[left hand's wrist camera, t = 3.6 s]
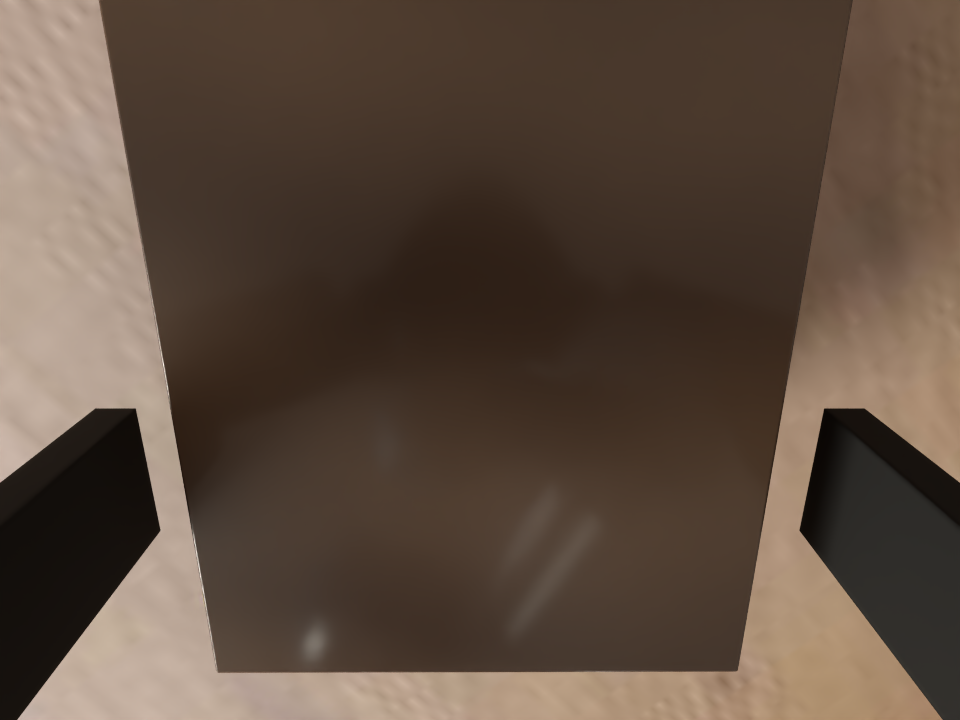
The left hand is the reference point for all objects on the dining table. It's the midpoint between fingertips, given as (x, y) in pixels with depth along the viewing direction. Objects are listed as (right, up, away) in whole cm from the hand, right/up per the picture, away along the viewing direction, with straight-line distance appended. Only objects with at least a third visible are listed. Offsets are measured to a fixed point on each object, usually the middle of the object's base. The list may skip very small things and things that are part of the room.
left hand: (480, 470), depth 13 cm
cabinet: (0, +7, +6) cm, 10 cm away
